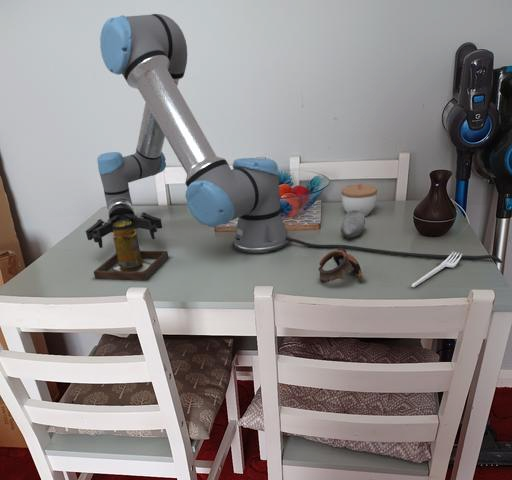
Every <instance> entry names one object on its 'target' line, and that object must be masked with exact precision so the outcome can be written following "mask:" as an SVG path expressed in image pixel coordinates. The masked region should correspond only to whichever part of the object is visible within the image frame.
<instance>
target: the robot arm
mask: <svg viewBox="0 0 512 480" xmlns="http://www.w3.org/2000/svg"><path fill="white" fill-rule="evenodd" d="M99 41H100V43H99V44H100V45H99V46H100V47H99V48H100V54H101V58H102V61H103V64H104V65H105V67H106V69H107V70H108V71H109V72H111V73H112V74H114V75H117V76H119V75H122V76H123V78H124V80H125V81H126V83H127V85H128V86H129V87H130V88H132V89H137V90H138V92H139V94H140V95H141V97H142V99H143V100H144V102H145V104H144V106H143V107H144V108H143V113H142V119H141V124H140V129H139V134H138V139H137V145H136V149H135V153H133V154H129V155H125V156H123V154H122V153H121V152H118V151H110V152H104V153H101V154H99V155H98V156H97V158H96V159H97V160H96V161H97V168H98V173H99V176H100V177H99V178H100V180H101V185H102V187H103V194H104V198H105V203H106V209H107V215H108V219H107V221H104V220H103V219H101V218H99V219H97V221H96V222H95V223H94V224H93V225H91V226H90V227H89V228H87V229H86V230H85V234H86V238H87V240H88V241H92V240H93V242H94V243H98V246H99V248H100V249H101V248H102V249H103V247H104V246H103V237H105V236H107V235H109V234H111V233H113V228H112V226H113V224H115V223H117V222H121V221H131V222H132V223H133V227H134V230H137V229H143V230H148V231H149V235H150V237H151V240H156V236H155V233H157V232H158V229H160V230H161V229H163V224H162V223H163V222H162V219H161V218H159V217H157V216H153V215H151V214H147V212H142V213H141V214H140V215H136V213H135V210H134V207H133V201H132V197H131V192H130V186H129V184H130V183H133V182H135V181H139V180H141V179H146V178H149V177H152V176H157V175H158V174H161V173H163V172H164V171H165V169H166V167H167V163H166V155H165V154H164V153H163V148H164V143H165V138H166V140H167V142H168V144H169V145H170V147H171V149H172V151H173V152H174V155H175V156H176V158H177V160H178V161H179V163H180V165H181V166H182V168H183V170H184V172H185V173H186V177H185V184H184V185H186V187H187V188H186V190H185V199H186V202H185V203H186V206H187V209H188V210H189V212H190V214H191V215H192V217H193V218H194V219H195V220H196V221H197V222H199V223H200V224H202V225H204V226H207V227H210V228H211V227H212V228H215V227H219V226H221V225H222V226H223V225H227V224H229V223H231V221H233V220H236V219H237V223H236V228H235V232H234V236H233V244H234V248H235V249H236V250H237V251H240V252H243V253H246V254H267V253H272V252H276V251H279V250H281V249H283V248H285V247H286V246H287V245H288V244H289V242H293V243H296V244H298V245H303V246H306V247H309V248H317V249H339V248H344V249H345V250H354V251H355V250H356V251H361V252H362V251H363V252H369V253H378V254H385V255H394V256H403V257H404V256H405V257H412V258H413V257H414V258H427V259H429V258H430V259H447V258H448V257H449V256H450V255H451V254H433V253H418V252H404V251H395V250H387V249H379V248H371V247H364V246H356V245H347V244H317V243H316V244H315V243H309V242H306V241H303V240H301V239H296V238H292V237H289V233H288V231H287V227H286V225H285V223H284V220H283V218H282V216H281V198H280V197H281V196H280V174H279V169H278V168H279V167H278V163H277V162H276V161H275V160H274V159H270V158H264V157H243V158H236V159H234V160H233V161H232V168H231V167H230V165H229V163H228V161H227V160H226V159H225V158H224V157H219V156H217V154H216V152H215V151H214V149H213V147H212V145H211V144H210V142H209V140H208V139H207V137H206V135H205V133H204V131H203V129H202V128H201V126H200V124H199V123H198V121H197V119H196V118H195V116H194V114H193V112H192V110H191V109H190V107H189V105H188V103H187V102H186V100H185V97H184V96H183V94H182V92H181V91H180V89H179V87H178V85H179V81H180V80H181V79H183V78H184V76H185V72H186V69H187V64H188V46H187V40H186V37H185V35H184V32H183V30H182V29H181V28H180V26H179V25H178V23H177V22H176V21H175V20H173V19H172V18H171V17H169V16H167V15H164V14H161V13H152V14H139V15H129V16H126V15H119V16H116V17H110V18H108V19H107V20H105V21H104V24H103V25H102V27H101V32H100V37H99ZM453 255H454V254H452V256H453ZM456 255H457V254H456ZM456 255H455V256H454V258H455V257H456ZM460 255H461V254H459V255H458V256H457V258H456V260H457V259H458V258H459V256H460ZM452 256H451V258H452ZM451 258H450V259H451ZM454 258H453V259H454ZM450 259H449V260H450ZM453 259H452V260H453ZM486 259H487V260H488V259H490V260H494V261H496V263H499V264H503V263H504V262H503V261H502V260H501V258H499V257H498V256H496V255H493V254H484V255H466V254H465V255H463V254H462V256H461V258H460V260H486Z"/></svg>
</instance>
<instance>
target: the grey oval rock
mask: <svg viewBox="0 0 512 480" xmlns="http://www.w3.org/2000/svg"><path fill="white" fill-rule="evenodd" d="M365 224H366V216H364V214H363V213H362V212H361V211H359V210H351V211H349V212H348V213H347V212H346V213H345V216H344V217H343V220H342V222H341V225H340V232H341V234H342V235H343V236H344V237H345V238H348V239H351V238H356V237H358V236H359V235H361V233H362V232H363V230H364V228H365Z"/></svg>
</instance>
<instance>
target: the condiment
mask: <svg viewBox="0 0 512 480" xmlns="http://www.w3.org/2000/svg"><path fill="white" fill-rule="evenodd" d="M112 228H113V232H112V233H113V237H112V238H113V243H114V247H115V253H117V257H118V262H117V263H118V265H117V266H114V267H112V269H113V270H114V271H127V272H144V271H145V270H146V269H147V268H148V267H149V266H150V265H151V264H148V263H146V262H143V260H142V259H143V258H141V253H140V251H141V248H140V244H139V238H138V234H137V232H136V231H135V229H134V227H133V223H132V222H131V221H121V222H117V223H115V224H113V226H112Z"/></svg>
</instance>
